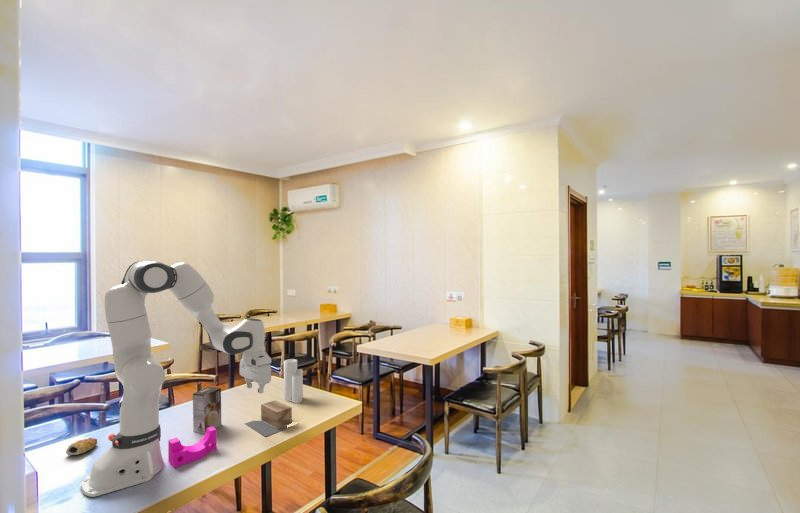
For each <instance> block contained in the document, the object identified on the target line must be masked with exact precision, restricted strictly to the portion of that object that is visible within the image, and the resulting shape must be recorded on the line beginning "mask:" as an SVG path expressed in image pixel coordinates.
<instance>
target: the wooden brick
mask: <svg viewBox="0 0 800 513" xmlns="http://www.w3.org/2000/svg"><path fill="white" fill-rule="evenodd" d="M260 408H261V410H260V412H261V413H260V418H261V419H260V421H263V422H265V423H267V424H269V425H270V426H272V427H274V428H276V429H279V428H281V427H284V426H287V425H289V424H291V423H292V421H293V419H292V418H293V416H292V415H293V413H292V410H293V409H292V408H293V407H292V406H290V405H287V404H286V403H284V402H281V401H278V400H277V399H275V400H272V401H268V402H264V403H262V404H260Z"/></svg>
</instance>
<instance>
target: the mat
mask: <svg viewBox="0 0 800 513" xmlns="http://www.w3.org/2000/svg"><path fill="white" fill-rule="evenodd" d="M244 425H245V426H247V427H249V428H250V429H251V430H253V431H255V432H257V433H258V434H260V435H261V436H262V437H264V438H268V437H270V436H272V435H275V434H277V433H280V432H282V431H285V430H288V429H290V428H289V427H288V429H287V426H284V427H281V428H279V429H276V428H274V427H272V426H270V425H269V424H267V423H265V422H263V421H261V420H251V421H248V422H245V423H244Z"/></svg>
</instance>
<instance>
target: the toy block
mask: <svg viewBox="0 0 800 513" xmlns="http://www.w3.org/2000/svg"><path fill="white" fill-rule="evenodd" d="M167 443H168V444H167V445H168V451H167V452H168V455H167V456H168V459H167V460H168V461H167V462H168V463H169V464H170V465H171V466H172V467H173V468H178V467H180V466H184V465H185V464H189V463H191V462H194V461H197V460H200V459H202V458H206V454H207V453H210V452H212V451H214V450H217V429H216V428H214V427H213V426H212V427H209V428H207V431H206V433H205V434H204V435H203V437H202V438H201V439H200V440H199V441H198V442H196V443H194V444H192V445H183V444H182V443H181V440H180V439H179V438H178V437H174V438H171V439H168V442H167Z"/></svg>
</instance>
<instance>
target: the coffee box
mask: <svg viewBox="0 0 800 513" xmlns="http://www.w3.org/2000/svg"><path fill="white" fill-rule="evenodd" d="M221 389H222V387H214V386H208V387H206V388H203V389H201V390H199V391H196V392H194V393H192V420H193V422H192V423H193V424H192V425H193V426H192V427H193V428H192V430H193V433H199V434H204V435H205V433H206V431H207V428H209V427H212V426H213V427H214V428H215V429H216V428H218V427H219V426H221V425H222V390H221Z"/></svg>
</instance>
